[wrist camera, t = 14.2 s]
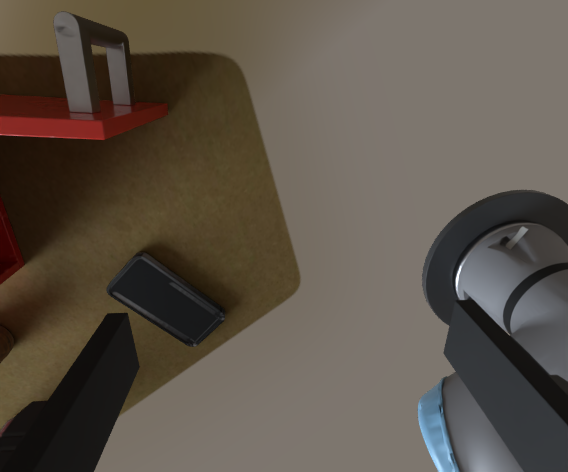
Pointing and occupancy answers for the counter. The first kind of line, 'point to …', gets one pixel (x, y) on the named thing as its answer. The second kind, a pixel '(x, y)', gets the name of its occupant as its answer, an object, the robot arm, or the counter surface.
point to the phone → (166, 300)
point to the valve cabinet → (8, 248)
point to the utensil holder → (5, 343)
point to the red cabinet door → (82, 90)
